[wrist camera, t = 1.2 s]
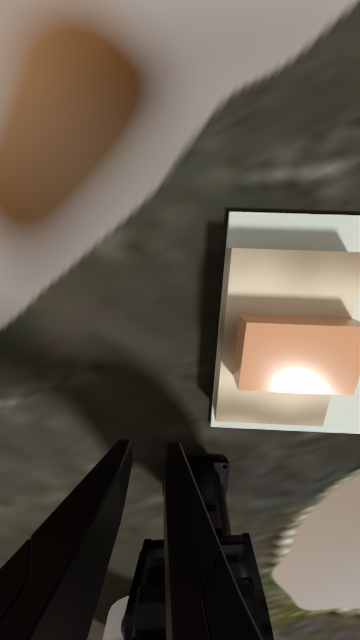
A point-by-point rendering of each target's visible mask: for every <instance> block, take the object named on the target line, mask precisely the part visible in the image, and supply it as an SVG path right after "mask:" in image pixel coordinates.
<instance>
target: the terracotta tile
mask: <svg viewBox="0 0 360 640" xmlns="http://www.w3.org/2000/svg"><path fill="white" fill-rule="evenodd" d="M359 376H360V321H358V320H355V319H353V318H333V317H306V316H280V315H253V314H240V315H239V323H238V332H237V341H236V350H235V358H234V367H233V378H234V380H235V383H236V386H237V389H238V390H244V391H266V392H289V393H312V394H334V395H354V392H355V389H356V386H357V383H358V379H359Z"/></svg>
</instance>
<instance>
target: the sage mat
mask: <svg viewBox="0 0 360 640" xmlns="http://www.w3.org/2000/svg"><path fill="white" fill-rule="evenodd" d="M227 248H248V249H279V250H310V251H341V252H360V215H327V214H293V213H259V212H229V216H228V228H227V239H226V249H227ZM225 260H226V250H225ZM224 272H225V262H224ZM223 283H224V273H223ZM222 294H223V285H222ZM221 305H222V296H221ZM220 317H221V308H220ZM352 318H353V319H355V320H358V321H360V291H359V295H358V298H357V302H356V306H355V309H354V313H353V317H352ZM219 328H220V319H219ZM218 339H219V330H218ZM217 351H218V342H217ZM216 362H217V353H216ZM215 373H216V365H215ZM214 384H215V376H214ZM213 396H214V388H213ZM210 425H211V427H227V428H248V429H269V430H290V431H311V432H332V433H354V434H360V376H359V379H358V383H357V386H356V389H355V392H354V395H334V394H331V398H330V402H329V405H328V409H327V413H326V416H325V420H324V424H323V426H303V425H282V424H261V423H239V422H218V421H215V416H214V410H213V399H212V410H211V422H210Z"/></svg>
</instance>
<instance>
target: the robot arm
mask: <svg viewBox="0 0 360 640" xmlns="http://www.w3.org/2000/svg"><path fill="white" fill-rule="evenodd" d="M132 459H133V455H132V441H131V440H130V439H120V440H119V441H118V442H117V443H116V444H115V445H114V446H113V447H112V448H111V449H110V450H109V451H108V453H107V454H106V455H105V456H104V457H103V458H102V459H101V460H100V461H99V462H98V463H97V465H96V466H95V467H94V468H93V469H92V470H91V471H90V472H89V473H88V474H87V475H86V477H85V478H84V479H83V480H82V481H81V482H80V483H79V484H78V485H77V486H76V487H75V489H74V490H73V491H72V492H71V493H70V494H69V495H68V496H67V497H66V498H65V499H64V501H63V502H62V503H61V504H60V505H59V506H58V507H57V508H56V509H55V510H54V511H53V512H52V514H51V515H50V516H49V517H48V518H47V519H46V520H45V521H44V522H43V523H42V524H41V526H40V527H39V528H38V529H37V530H36V531H35V532H34V533H33V534H32V535H31V537H30V539H28V540H27V541H26V542H25V543H24V544H23V545H22V546H21V547H20V548H19V549H18V550H17V552H16V553H15V554H14V555H13V556H12V557H11V558H10V559H9V560H8V561H7V562H6V563H5V564H4V565H3V566H2V567H1V568H0V640H87V637H88V634H89V630H90V627H91V623H92V620H93V616H94V613H95V609H96V606H97V602H98V599H99V595H100V592H101V588H102V585H103V581H104V578H105V575H106V571H107V568H108V564H109V561H110V557H111V554H112V550H113V547H114V543H115V540H116V536H117V533H118V529H119V526H120V522H121V518H122V514H123V509H124V504H125V499H126V494H127V488H128V483H129V477H130V472H131V467H132ZM229 468H230V466H229V462H228V461H227V460H224V459H204V458H186V457H185V454H184V452H183V449H182V447H181V444H180V443H179V442H174V441H169V442H168V446H167V454H166V463H165V473H164V539H162V540H151V539H145V540H144V543H143V547H142V551H141V552H140V555H139V559H138V563H137V567H136V571H135V575H134V579H133V582H132V586H131V590H130V594H129V598H128V602H127V606H126V610H125V614H124V616H123V619H122V623H121V634H122V636H123V639H124V640H274V638H273V632H272V627H271V622H270V617H269V613H268V608H267V604H266V599H265V595H264V591H263V587H262V583H261V579H260V575H259V571H258V567H257V563H256V559H255V555H254V552H253V548H252V544H251V540H250V536H249V533H242V535H231V529H230V522H229V516H228V510H227V503H226V492H227V484H228V476H229Z"/></svg>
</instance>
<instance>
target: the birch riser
mask: <svg viewBox="0 0 360 640" xmlns="http://www.w3.org/2000/svg"><path fill="white" fill-rule="evenodd" d="M359 291H360V252H341V251H310V250H279V249H248V248H227V249H226V260H225V272H224V283H223V294H222V305H221V317H220V328H219V339H218V351H217V362H216V373H215V384H214V396H213V410H214V416H215V421H218V422H239V423H261V424H282V425H303V426H323V424H324V420H325V416H326V413H327V409H328V405H329V402H330V398H331V394H312V393H289V392H266V391H244V390H238V389H237V386H236V383H235V380H234V378H233V367H234V358H235V350H236V341H237V332H238V323H239V315H240V314H253V315H280V316H306V317H333V318H352V317H353V313H354V309H355V306H356V302H357V298H358V295H359Z"/></svg>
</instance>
